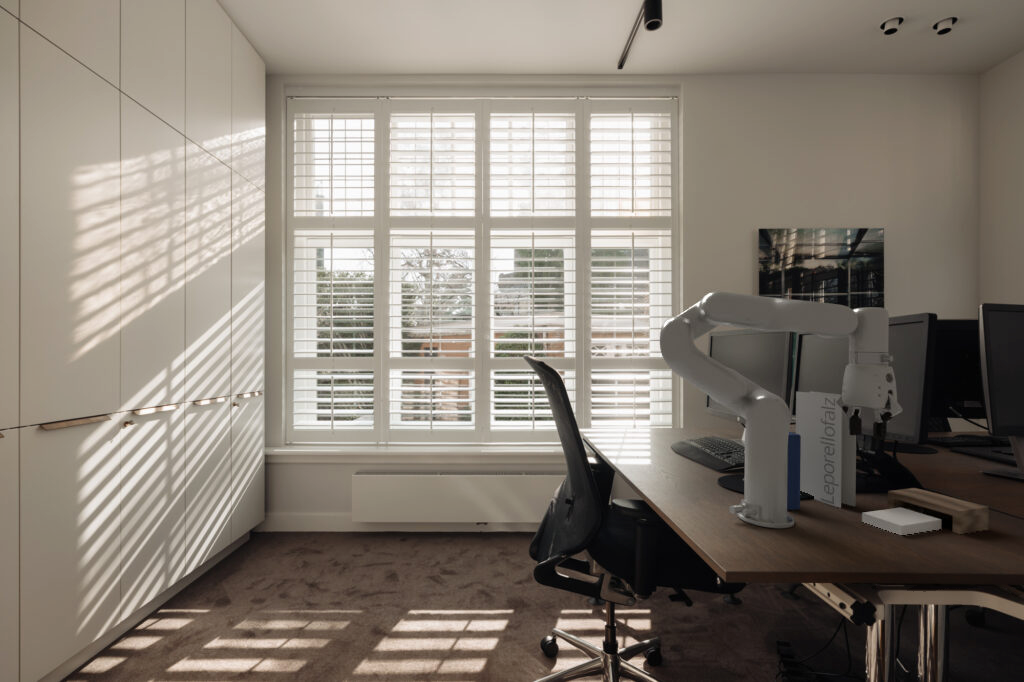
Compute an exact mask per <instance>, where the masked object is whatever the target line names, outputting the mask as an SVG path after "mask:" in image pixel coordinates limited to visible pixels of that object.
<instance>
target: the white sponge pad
mask: <svg viewBox="0 0 1024 682" xmlns="http://www.w3.org/2000/svg"><path fill="white" fill-rule="evenodd" d="M862 522H864V523H863V524H865V523H867V524H866V525H868V524H870V525H869V526H871V525H873V526H872V527H874V526H875V527H874V528H876V527H878V528H877V529H879V528H881V529H880V530H882V529H883V530H882V531H885V530H887V531H886V532H888V531H889V532H888V533H891V532H892V533H891V534H894V533H896V534H899V535H906V536H908V535H907V534H912V535H915V534H914V533H918V534H920V533H919V532H924V533H927V532H926V531H930V532H933V531H932V530H936V531H939V529H941V530H942V518H939V517H938V518H937V517H936V516H935V517H934V516H932V515H929V514H928V515H927V514H926V513H925V514H924V513H918V512H915V511H911V510H908V509H905V508H901V507H900V508H893V509H888V508H887V509H879V510H873V511H872V510H871V511H866V512H861V523H862ZM896 534H895V535H896ZM899 535H898V536H899Z"/></svg>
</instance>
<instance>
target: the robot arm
mask: <svg viewBox="0 0 1024 682" xmlns="http://www.w3.org/2000/svg"><path fill="white" fill-rule="evenodd" d="M889 318H890V316H889V311H888V310H887V309H886V308H884V307H875V306H874V307H873V306H872V307H871V306H870V307H869V306H868V307H867V306H866V307H857V308H853V309H852V308H850V307H849V306H846V305H844V304H843V305H842V304H838V303H837V304H835V303H827V302H821V301H820V302H819V301H811V300H810V301H809V300H802V299H788V298H781V297H772V296H763V295H762V296H761V295H760V296H759V295H752V294H744V293H738V292H737V293H736V292H729V291H727V292H726V291H718V290H717V291H711V292H708V293H707V294H705V295H704V296H703V297H702V298H701V299H700V300H699V301H698V302H696V303H695V304H693V305H691V306H690V307H688V309H686V310H684V311H682V312H681V313H679V314H677V315H676V316H671V317H669V318H667V319H666V320H665V321H664V322H663V324H662V325H661V328H660V331H659V332H660V333H659V348H660V353H661V356H662V358H663V360H664V362H665V364H666V365H667V366H668V368H669V369H671V371H673V372H674V373H675V374H677V375H678V376H679V377H681V378H682V379H683V380H685V381H686V382H688V383H689V384H691V386H693V387H695V388H696V389H698V390H699V391H701V392H703V393H704V394H706V396H709V398H710V399H711V400H713V401H714V402H716V403H717V404H720V405H722V406H725V408H726V409H728V410H731V411H732V412H733V413H736V414H737V415H738V416H740V417H741V418H743V419H744V420H745V433H744V434H745V435H744V436H745V437H744V483H743V484H744V488H743V490H744V491H743V492H744V493H743V494H744V496H743V497H744V498H743V499H740V503H739V504H738V505H737V504H735V505H729V507H728V511H729V513H730V514H732V515H734V514H737V517H738V518H739V519H740V520H742V521H744V522H746V523H748V524H752V525H755V526H757V527H763V528H770V529H788V528H792V527H793V526H794V525H795V519H794V517H793V516H792V515H790V514H789V513H788V510H787V473H788V436H789V432H790V426H791V412H790V409H789V406H788V404H787V403H786V402H785V400H784V399H783V398H782V397H780V396H779V395H778V394H777V395H776V394H775V393H773V392H770V390H769V391H768V390H766V389H765V388H763V387H761V385H759V384H757V383H756V382H754V381H752V380H750V379H749V378H747V377H745V376H744V375H742V374H740V373H739V372H738V371H736V370H735V369H734V368H730V367H727V366H726V365H724V364H722V363H721V362H718V361H717V360H715V359H714V358H712V357H711V356H710V355H708V354H706V353H704V352H703V351H701V350H700V349H699V348H698V347H697V346H696V344H695V342H694V341H696V340H698V339H699V338H701V337H704V335H706V334H707V333H709V332H712V331H713V330H714V329H715V328H717V327H719V326H727V327H733V328H741V329H747V330H754V331H763V332H774V333H775V332H791V333H793V332H795V333H802V334H812V335H816V336H817V337H820V338H823V339H841V338H847V337H848V364H847V365H846V366H845V370H844V374H843V380H842V388H841V389H842V392H841V394H840V395H841V397H840V398H839V399H838V400H837V401H836V403H837V404H838V405H839V406H840V407H841V408H842V410H843V411H844V412H845V413H846V414H847V415H846V416H847V418H849V430H850V435H856V436H861V435H862V434H863V433H862V431H863V430H862V426H863V425H862V424H863V423H862V422H863V419H862V418H860V414H861V411H862V409H869V410H873V413H874V418H875V421H874V422H873V424H872V427H873V429H872V439H873V440H876V441H880V440H886V436H887V432H888V431H887V425H888V424H887V423H890V420H892V419H893V418H895V417H896V416H897V415H899V414H900V413H902V412H903V408H902V406H901V405H900V403H899V402H898V394H897V393H898V391H897V382H896V377H895V372H894V368H893V366H889V364H890V362H891V363H892V362H893V361H894V356H893V355H889V330H890V329H889V328H890V327H889V324H890V323H889V321H890V320H889Z"/></svg>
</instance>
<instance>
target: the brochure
mask: <svg viewBox="0 0 1024 682" xmlns="http://www.w3.org/2000/svg"><path fill="white" fill-rule="evenodd" d="M795 392H796V393H795V395H796V396H795V399H796V400H795V434H799V435H800V436H801V462H800V491H802V492H805V493H808V494H810V495H812V496H814V499H813V500H815V501H818V502H820V503H824V504H828V505H829V506H833V507H837V508H838V507H839V509H842V505H846V504H847V505H846V506H851V507H856V486H857V485H856V483H857V482H856V481H857V479H856V478H857V477H856V475H857V469H856V467H857V464H856V463H857V435H850V430H849V418H847V416H846V415H847V414H846V413H845V412H844V411H843V410H842V408H841V407H840V406H839V405H838V404H837V403H836V401H837V400H838V399H839V398H840V397H841V395H842V394H839V393H827V392H820V391H811V390H810V391H809V392H807V391H806V392H805V391H804V392H803V391H795ZM842 503H843V504H842Z"/></svg>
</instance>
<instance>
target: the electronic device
mask: <svg viewBox="0 0 1024 682" xmlns="http://www.w3.org/2000/svg"><path fill="white" fill-rule="evenodd" d="M800 462H801V436H800V435H799V434H796V432H791V431H789V436H788V473H787V511H797V510H798V511H799V510H800V508H801V494H800Z"/></svg>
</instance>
